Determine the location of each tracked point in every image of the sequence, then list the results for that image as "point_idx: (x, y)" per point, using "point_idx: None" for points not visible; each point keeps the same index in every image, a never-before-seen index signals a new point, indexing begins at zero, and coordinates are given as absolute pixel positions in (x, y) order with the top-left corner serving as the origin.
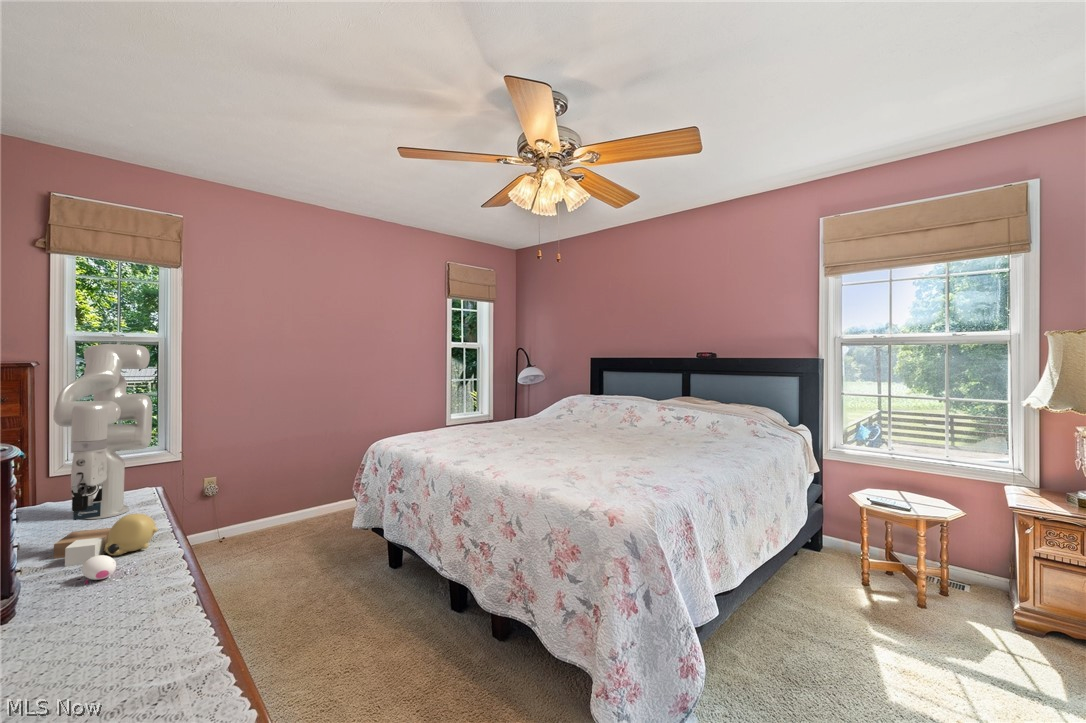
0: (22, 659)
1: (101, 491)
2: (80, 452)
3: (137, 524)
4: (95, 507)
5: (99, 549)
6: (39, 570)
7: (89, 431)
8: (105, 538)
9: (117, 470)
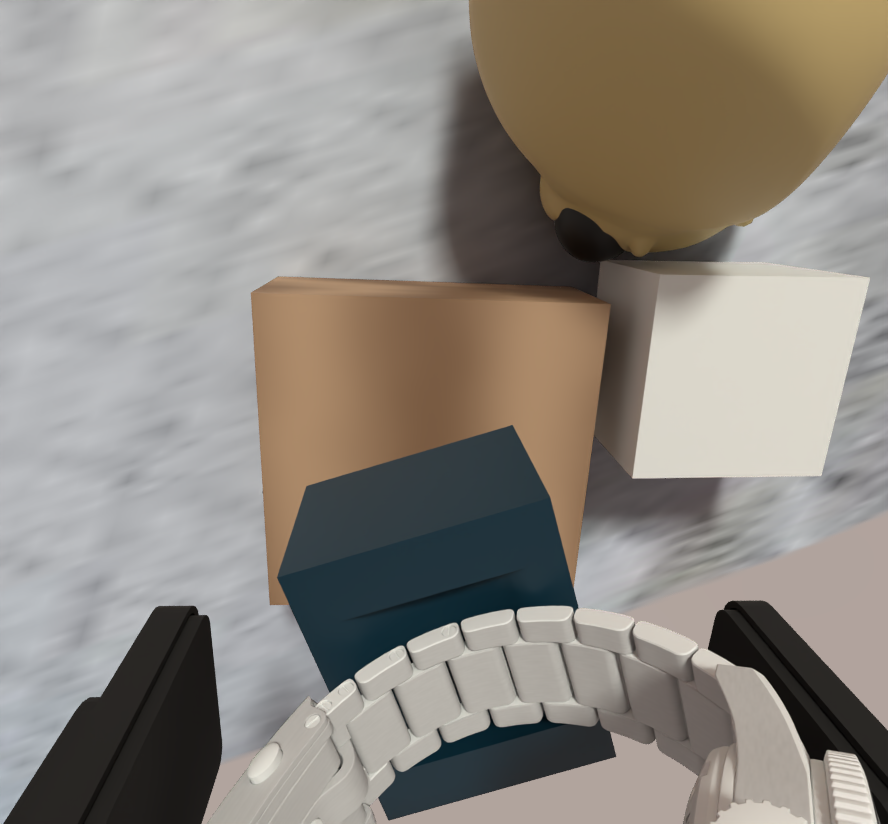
0: None
1: (110, 764)
2: None
3: None
4: (556, 544)
5: (722, 268)
6: (728, 528)
7: None
8: (513, 297)
9: None
